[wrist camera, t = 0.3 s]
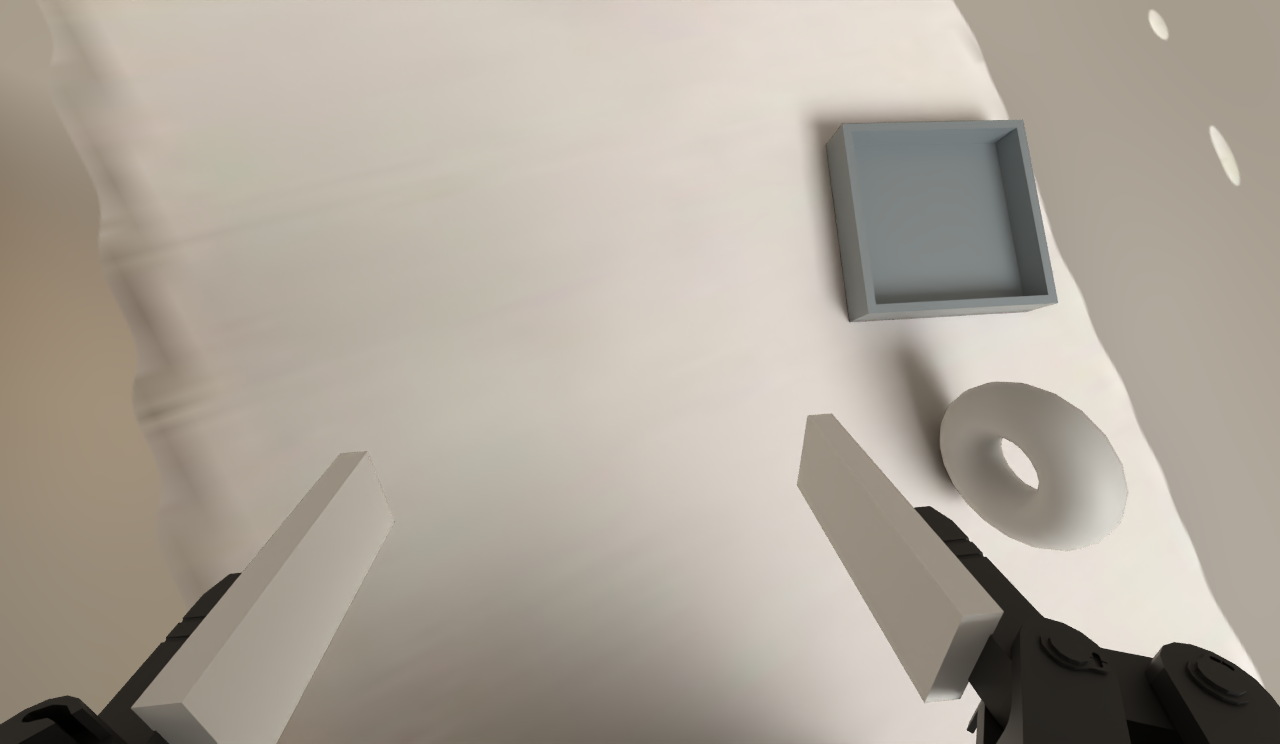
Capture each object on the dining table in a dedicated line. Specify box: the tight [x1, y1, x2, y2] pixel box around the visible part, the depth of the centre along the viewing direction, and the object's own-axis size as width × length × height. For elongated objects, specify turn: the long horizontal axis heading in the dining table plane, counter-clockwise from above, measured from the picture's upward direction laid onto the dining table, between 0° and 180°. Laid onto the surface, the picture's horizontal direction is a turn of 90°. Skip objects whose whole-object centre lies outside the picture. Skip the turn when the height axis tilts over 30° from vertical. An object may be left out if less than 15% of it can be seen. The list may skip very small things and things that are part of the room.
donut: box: [940, 382, 1128, 551], centre depth 27 cm, size 10×3×10 cm, turn 16°
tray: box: [826, 120, 1058, 322], centre depth 33 cm, size 14×14×2 cm
